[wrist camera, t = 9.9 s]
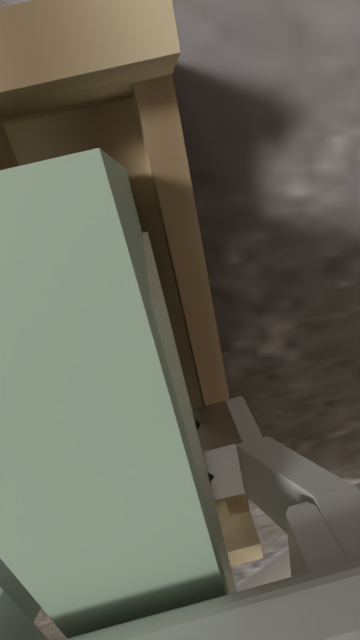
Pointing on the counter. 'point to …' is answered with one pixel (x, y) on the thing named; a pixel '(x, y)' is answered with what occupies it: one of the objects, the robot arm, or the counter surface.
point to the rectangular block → (95, 408)
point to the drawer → (123, 159)
